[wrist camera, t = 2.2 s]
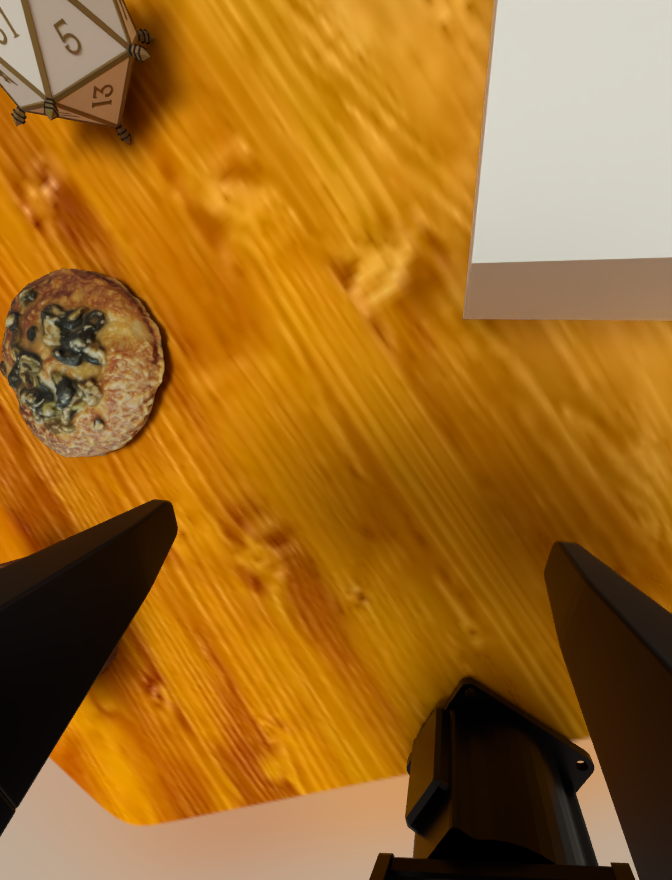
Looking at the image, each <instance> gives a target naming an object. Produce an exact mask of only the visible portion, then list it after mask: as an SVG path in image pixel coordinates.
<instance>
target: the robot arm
mask: <svg viewBox="0 0 672 880" xmlns="http://www.w3.org/2000/svg"><path fill="white" fill-rule="evenodd" d="M177 530H178V527H177V522H176V518H175V513H174V509H173V505H172V503H171V502H170V501H167V500H157V499H155V500H151V501H149V502H147V503H145V504H142V505H140V506H138V507H136V508H134V509H131V510H129V511H127V512H125V513H122V514H120V515H118V516H116V517H114V518H111V519H109V520H107V521H105V522H103V523H100V524H98V525H96V526H94V527H91V528H89V529H87V530H85V531H83V532H80V533H78V534H76V535H74V536H71V537H69V538H67V539H65V540H63V541H60V542H58V543H56V544H54V545H52V546H49V547H47V548H45V549H43V550H40V551H38V552H36V553H34V554H32V555H29V556H27V557H25V558H23V559H21V560H18V561H16V562H14V563H12V564H9V565H7V566H5V567H3V568H1V569H0V836H1V835H2V833H3V831H4V829H5V828H6V826H7V824H8V823H9V822H10V820H11V818H12V817H13V815H14V813H15V809H16V808H17V807H18V806H19V805H20V803H21V801H22V800H23V798H24V796H25V795H26V793H27V792H28V790H29V788H30V787H31V785H32V783H33V782H34V780H35V778H36V777H37V775H38V773H39V772H40V770H41V768H42V767H43V765H44V764H45V762H46V760H47V759H48V757H49V755H50V754H51V752H52V751H53V749H54V747H55V746H56V744H57V742H58V741H59V739H60V737H61V736H62V734H63V733H64V731H65V729H66V728H67V726H68V724H69V723H70V721H71V719H72V718H73V716H74V714H75V713H76V711H77V710H78V708H79V706H80V705H81V703H82V701H83V700H84V698H85V696H86V695H87V693H88V692H89V690H90V688H91V687H92V685H93V683H94V682H95V680H96V678H97V677H98V675H99V674H100V672H101V670H102V669H103V667H104V665H105V664H106V662H107V660H108V659H109V657H110V655H111V654H112V652H113V651H114V649H115V647H116V646H117V644H118V642H119V641H120V639H121V637H122V636H123V634H124V633H125V631H126V629H127V628H128V626H129V624H130V623H131V621H132V619H133V618H134V616H135V614H136V613H137V611H138V610H139V608H140V606H141V605H142V603H143V601H144V600H145V598H146V596H147V595H148V593H149V591H150V589H151V587H152V585H153V584H154V582H155V580H156V577H157V575H158V573H159V571H160V569H161V567H162V565H163V563H164V561H165V559H166V557H167V555H168V552H169V550H170V548H171V546H172V544H173V542H174V540H175V538H176V535H177ZM544 577H545V583H546V587H547V592H548V596H549V601H550V605H551V610H552V614H553V619H554V623H555V628H556V632H557V637H558V641H559V645H560V648H561V651H562V655H563V658H564V661H565V664H566V667H567V670H568V672H569V675H570V678H571V681H572V684H573V687H574V690H575V693H576V696H577V699H578V702H579V705H580V708H581V710H582V713H583V716H584V719H585V722H586V725H587V728H588V731H589V734H590V737H591V740H592V743H593V745H594V748H595V751H596V754H597V757H598V760H599V763H600V766H601V769H602V772H603V774H604V778H605V781H606V783H607V786H608V789H609V792H610V795H611V798H612V801H613V804H614V807H615V810H616V813H617V815H618V818H619V821H620V824H621V827H622V830H623V833H624V836H625V839H626V842H627V845H628V848H629V851H630V853H631V856H632V859H633V862H634V865H635V868H636V871H637V874H638V877H639V880H672V614H671V613H670V612H668V611H667V610H666V609H664V608H663V607H662V606H660V605H659V604H658V603H656V602H655V601H654V600H652V599H651V598H650V597H648V596H647V595H646V594H644V593H643V592H642V591H640V590H639V589H638V588H636V587H635V586H634V585H632V584H631V583H630V582H628V581H627V580H626V579H624V578H623V577H622V576H620V575H619V574H618V573H616V572H615V571H614V570H612V569H611V568H610V567H608V566H607V565H606V564H604V563H603V562H602V561H600V560H599V559H598V558H596V557H595V556H594V555H592V554H591V553H590V552H588V551H587V550H586V549H584V548H583V547H582V546H580V545H579V544H577V543H574V542H566V541H556V542H555V543H554V544H553V546H552V548H551V551H550V554H549V557H548V560H547V563H546V566H545V571H544ZM468 688H471V689H473V690H474V692H468V691H466V689H468ZM577 761H584V762H583V763H577ZM593 771H594V764H593V762H592V759H591V757H590V755H589V754H588V753H587V752H586V751H585V750H583V749H582V748H580V747H579V746H577V745H576V744H574V743H572V742H571V741H569V740H568V739H566V738H565V737H563V736H562V735H560V734H558V733H557V732H555V731H554V730H552V729H551V728H549V727H548V726H546V725H544V724H543V723H541V722H540V721H538V720H537V719H535V718H533V717H532V716H530V715H529V714H527V713H526V712H524V711H523V710H521V709H519V708H518V707H516V706H515V705H513V704H512V703H510V702H509V701H507V700H505V699H504V698H502V697H501V696H499V695H498V694H496V693H494V692H493V691H491V690H490V689H488V688H487V687H485V686H484V685H482V684H480V683H479V682H477V681H476V680H474V679H472V678H465V679H463V680H462V681H461V682H460V683H459V684H458V686H457V687H456V689H455V690H454V692H453V693H452V695H451V696H450V698H449V699H448V701H447V702H446V704H445V705H444V706H443V707H438V708H436V709H435V710H434V711H433V713H432V714H431V716H430V717H429V719H428V720H427V722H426V723H425V725H424V726H423V728H422V729H421V731H420V732H419V734H418V735H417V737H416V738H415V740H414V742H413V749H412V753H411V755H410V756H409V758H408V761H407V772H408V774H409V775H410V777H409V787H408V796H407V805H406V814H405V818H406V823H407V826H408V827H409V828H410V829H412V830H413V831H414V832H415V839H414V851H413V858H405V857H394V855H393V854H392V853H379V855H378V857H377V860H376V863H375V866H374V869H373V871H372V874H371V877H370V879H369V880H635V878H634V876H633V873H632V871H631V868H630V866H629V864H628V863H611V866H612V867H608V866H598V863H597V859H596V856H595V853H594V850H593V847H592V844H591V841H590V837H589V834H588V831H587V828H586V824H585V821H584V818H583V815H582V812H581V809H580V805H579V803H578V799H577V796H576V792H577V791H578V790H579V788H580V787H581V786H582V785H583V784H584V783H585V781H586V780H587V779H588V778H589V777H590V775H591V774H592V773H593Z"/></svg>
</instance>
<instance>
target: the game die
mask: <svg viewBox="0 0 672 880" xmlns="http://www.w3.org/2000/svg"><path fill="white" fill-rule="evenodd" d="M153 39H154V38H153V37H152V36H151V35H150V34H149V33H148V32H147V30H146V29H144V30H142V29H140V30H139V31H137V30H136V28H135V25H134V23H133V21H132V19H131V16H130V14H129V12H128V9H127V7H126V5H125V2H124V0H0V86H1V87H2V88H3V89H4V91H5V92H6V93H7V94H8V95H9V97H10V98H11V99H12V100H13V101H14V103H15V104H16V105H17V108H16V109H13V111H14V112H13V114H12V113H11V115H12V116H13V118H14V121H15V124H16V126H18V125H20V124H24V123H25V119H26V116H25V112H29V113H35V114H40V115H46V116H48V118H49V119H50V120H53V119H55V118H63V119H68V120H74V121H79V122H85V123H91V124H96V125H102V126H108V127H113V128H116V129H117V131H118V135H120V137H121V140H123V141H125V142H126V143H128V144H129V145H131V142H130V134H128V132H127V129H124V128H123V127H122V125H121V122H122V117H123V112H124V108H125V103H126V98H127V93H128V89H129V84H130V79H131V74H132V69H133V65H134V60H135V58H136V60H137V61H138V60H141V62H142V63H143V62H144V61H145V60H146V59H147V58H149V57H150V55H149V54H148V53H147V51H146V49H145V48H144V47H142V46H141V45H139V46H138V41H141V43H146V44H150V42H151V41H152V40H153Z"/></svg>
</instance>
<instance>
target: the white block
mask: <svg viewBox="0 0 672 880" xmlns="http://www.w3.org/2000/svg"><path fill="white" fill-rule="evenodd" d="M463 319H514V320H649V321H672V0H494V5H493V15H492V25H491V36H490V46H489V56H488V66H487V76H486V87H485V97H484V107H483V117H482V127H481V138H480V148H479V158H478V168H477V178H476V189H475V199H474V209H473V219H472V229H471V240H470V250H469V260H468V270H467V280H466V291H465V301H464V311H463Z"/></svg>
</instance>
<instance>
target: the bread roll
mask: <svg viewBox="0 0 672 880" xmlns="http://www.w3.org/2000/svg"><path fill="white" fill-rule="evenodd" d="M5 323H6V331H5V333H4V339H3V343H2V361H1V363H0V370H1V372H2V374H3V375H4V376H5V377H6V378H8V381H9V385H10V386H11V387H13V390H14V391H15V393H16V396H17V399H18V401H19V412H20V414H21V415H22V417H23V418H24V419H25V421H26V424H27V425H28V426H29V428H30V429H31V430H32V432H33V435H35V436H37V437H38V438H39V440H40V441H42V443H43V444H45V445H47V446H48V447H49V448H50V449H52V450H53V451H55V452H56V453H58V454H60V455H62V456H65V457H67V458H69V457H81V456H86V457H90V456H96V455H100V456H104V454H107V453H108V452H111V451H114V450H117V449H120V448H122V447H123V446H125V445H126V443H127V442H129V441H130V440H131V439H132V438H133V437H134V436H135V435H136V434H137V433H138V431H140V430H141V429H142V428H143V426H144V425H145V424H146V422H147V420H148V418H149V415H150V413H151V410H152V406H153V403H154V399H155V393H156V390H157V388H158V387H159V385H160V384H161V383H162V380H163V373H164V367H165V364H164V359H163V358H164V356H163V350H162V343H161V335H160V332H159V327H158V326H157V325H156V324H155V323H154V321H153V320H152V319H151V317H150V315H149V314H148V313H147V311H146V309H145V307H144V306H143V304H142V302H141V301H140V300H139V299H138V298H136V297H135V296H133V295H132V294H131V293H130V291H129V290H128V289H127V288H126V287H125V286H124V285H123V284H122V283H121V282H120V281H118V280H116V279H115V278H112V277H105V276H104V275H102V274H100V273H97V272H89V271H86V270H78V269H70V270H69V269H60V270H57V271H55V272H50V273H49V274H47V275H45V276H43V277H41V278H40V279H37V280H35V281H34V282H32V283H29V284H28V285H27V286H25V288H23V289H22V290H21V292H20V293H19V294H18V295H17V296H16V297H15V298H14V300H13V301H12V304H11V307H10V310H9V312H8V315H7V318H6V319H5Z"/></svg>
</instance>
